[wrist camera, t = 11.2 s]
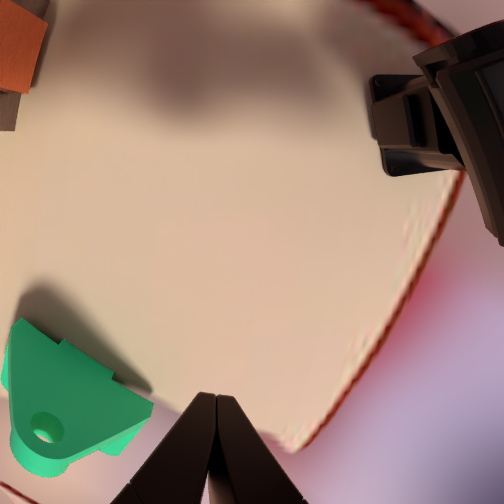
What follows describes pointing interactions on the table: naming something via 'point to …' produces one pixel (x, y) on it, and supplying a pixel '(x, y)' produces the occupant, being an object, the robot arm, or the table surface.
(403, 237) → the table surface
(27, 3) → the block
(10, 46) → the lock pin
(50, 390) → the camera mount
